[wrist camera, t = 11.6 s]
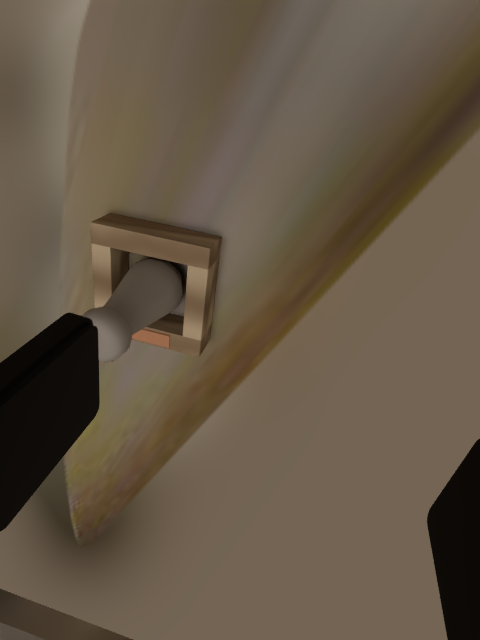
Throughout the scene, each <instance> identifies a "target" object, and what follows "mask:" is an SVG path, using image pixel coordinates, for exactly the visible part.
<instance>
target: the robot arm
mask: <svg viewBox="0 0 480 640" xmlns="http://www.w3.org/2000/svg"><path fill="white" fill-rule="evenodd" d="M98 409H99V347H98V328H97V327H96V326H94V325H93V321H92V320H91V319H90V318H87V317H83V316H80V315H76V314H73V313H66V314H64V315H63V316H62V317H60V318H59V319H58V320H56V321H55V322H54V323H53V324H51V325H50V326H48V327H47V328H46V329H44V330H43V331H42V332H40V333H39V334H38V335H37V336H35V337H34V338H33V339H31V340H30V341H29V342H27V343H26V344H25V345H23V346H22V347H21V348H19V349H18V350H17V351H16V352H14V353H13V354H11V355H10V356H9V357H8V358H7V359H5V360H4V361H2V362H1V363H0V531H2V530H3V529H5V528H6V527H7V526H8V525H9V523H10V522H11V521H12V520H13V518H14V517H15V516H16V515H17V513H18V512H19V511H20V510H21V508H22V507H23V506H24V505H25V503H26V502H27V501H28V500H29V498H30V497H31V496H32V495H33V493H34V492H35V491H36V490H37V488H38V487H39V486H40V485H41V484H42V482H43V481H44V480H45V478H46V477H47V476H48V475H49V474H50V472H51V471H52V470H53V469H54V467H55V466H56V465H57V464H58V462H59V461H60V460H61V459H62V457H63V456H64V455H65V454H66V452H67V451H68V450H69V449H70V447H71V446H72V445H73V444H74V442H75V441H76V440H77V439H78V437H79V436H80V435H81V434H82V432H83V431H84V430H85V429H86V427H87V426H88V425H89V424H90V422H91V421H92V420H93V419H94V417H95V416H96V414H97V412H98ZM427 524H428V531H429V536H430V542H431V548H432V553H433V558H434V565H435V570H436V576H437V582H438V587H439V593H440V598H441V604H442V610H443V615H444V621H445V627H446V632H447V638H448V640H480V439H478V440H477V441H476V443H475V444H474V445H473V447H472V448H471V450H470V451H469V453H468V454H467V456H466V457H465V458H464V460H463V461H462V463H461V464H460V466H459V467H458V469H457V470H456V472H455V473H454V474H453V476H452V477H451V479H450V480H449V482H448V483H447V485H446V486H445V488H444V489H443V490H442V492H441V493H440V495H439V496H438V498H437V499H436V501H435V502H434V504H433V505H432V507H431V508H430V510H429V513H428V518H427ZM0 640H132V639H130V638H128V637H125V636H122V635H120V634H117V633H115V632H112V631H109V630H107V629H104V628H101V627H99V626H96V625H93V624H91V623H88V622H86V621H83V620H81V619H78V618H75V617H73V616H70V615H67V614H65V613H62V612H60V611H57V610H54V609H52V608H49V607H47V606H44V605H41V604H38V603H36V602H33V601H31V600H28V599H25V598H23V597H20V596H17V595H15V594H12V593H10V592H7V591H5V590H2V589H0Z"/></svg>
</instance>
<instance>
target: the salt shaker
mask: <svg viewBox="0 0 480 640" xmlns="http://www.w3.org/2000/svg"><path fill="white" fill-rule="evenodd" d="M182 294H183V288H182V281H181V273H180V272H179V271H178V270H177V269H176V268H175V267H174V266H173V265H172V264H171V263H170V262H169V261H161V260H156V259H151V258H150V259H146V260H142V261H139V262H136V263H135V265H134V266H133V267H132V268H131V269H130V270H129V271H128V272H127V274H126V275H125V277H124V278H123V280H122V281H121V282H120V284H119V285H118V287H117V288H116V290H115V291H114V293H113V294H112V295H111V297H110V298H109V300H108V301H107V302H106V304H105V305H104V306H103V307H98V308H93V309H90V310H88V311H87V312H85V314H84V315H83V317H87V318H90V319H91V320H92V321H93V325H94V326H96V327H97V328H98V347H99V361H102V362H109V361H114V360H116V359H117V358H119V357H120V356H121V355H122V354H124V353H125V352H126V351H127V350H128V348H129V347H130V343H131V339H132V335H133V334H135V333H137V332H138V331H140V330H141V329H143V328H145V327H146V326H148V325H150V324H152V323H153V322H155V321H157V320H158V319H160V318H162V317H164V316H165V315H167V314H169V313H170V312H172V311H173V310H174V309H175V308H177V307H178V306H179V304H180V301H181V298H182Z"/></svg>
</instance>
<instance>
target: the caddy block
mask: <svg viewBox="0 0 480 640" xmlns="http://www.w3.org/2000/svg"><path fill="white" fill-rule="evenodd" d="M90 224H91V243H92V261H93V280H94V298H95V308H98V307H103V306H104V305H105V304H106V302H107V301H108V300H109V298H110V297H111V295H112V294H113V293H114V291H115V290H116V288H117V287H118V285H119V284H120V282H121V281H122V280H123V278H124V277H125V275H126V274H127V272H128V271H129V260H128V252H132V253H136V254H141V255H145V256H149V257H154V258H158V259H163V260H167V261H171V262H176V263H180V264H185V265H188V271H187V285H186V298H185V311H184V317H181V316H177V315H173V314H167V315H165V316H164V317H162V318H160V319H158V320H157V321H155V322H153V323H152V324H150V325H148V326H146V327H145V328H143V329H141V330H140V331H138V332H137V333H135V334H133V335H132V339H131V340H135V341H139V342H143V343H147V344H150V345H154V346H158V347H162V348H166V349H170V350H173V351H177V352H181V353H185V354H189V355H193V356H196V357H200V355H201V353H202V352H203V350H204V348H205V347H206V345H207V343H208V342H209V340H210V333H211V324H212V316H213V307H214V298H215V290H216V281H217V273H218V264H219V255H220V247H221V238H222V237H219V236H215V235H210V234H205V233H201V232H196V231H191V230H187V229H182V228H177V227H173V226H168V225H163V224H159V223H154V222H149V221H145V220H140V219H135V218H131V217H126V216H121V215H117V214H112V213H110V214H107V215H105V216H103V217H101V218H99V219H96V220H94V221H92V222H90Z"/></svg>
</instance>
